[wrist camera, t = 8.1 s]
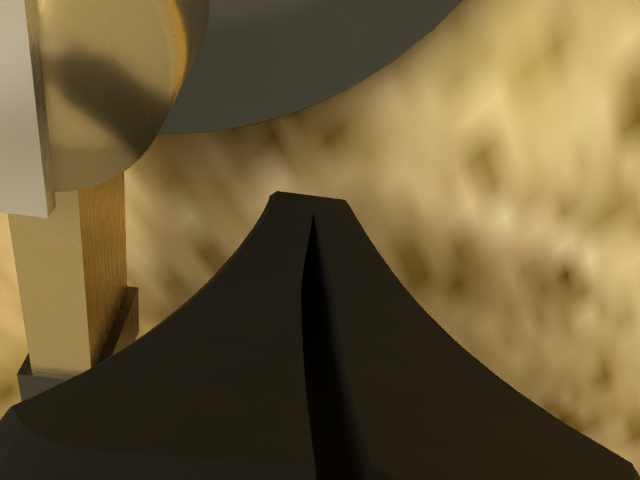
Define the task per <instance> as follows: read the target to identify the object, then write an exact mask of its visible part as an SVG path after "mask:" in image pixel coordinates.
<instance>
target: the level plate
mask: <svg viewBox="0 0 640 480" xmlns="http://www.w3.org/2000/svg"><path fill="white" fill-rule="evenodd" d="M461 1H462V0H209V19H208V27H207V31H206V35H205V39H204V42H203V44H202V47H201V49H200V52H199V54H198V56H197V58H196V60H195V62H194V64H193V66H192V68H191V70H190V72H189V74H188V75H187V77H186V79H185V81H184V83H183V85H182V87H181V89H180V91H179V93H178V95H177V97H176V99H175V101H174V103H173V105H172V107H171V109H170V111H169V113H168V115H167V117H166V118H165V120H164V122H163V124H162V126H161V128H160V130H159V132H158V134H181V133H204V132H211V131H217V130H223V129H229V128H235V127H241V126H247V125H253V124H257V123H260V122H263V121H266V120H270V119H273V118H276V117H280V116H283V115H286V114H290V113H293V112H296V111H300V110H302V109H304V108H307V107H309V106H311V105H313V104H316V103H318V102H320V101H322V100H324V99H327V98H329V97H331V96H333V95H336V94H338V93H340V92H342V91H345V90H347V89H348V88H350V87H352V86H353V85H355V84H357V83H358V82H360V81H362V80H363V79H365V78H366V77H368V76H370V75H371V74H373V73H375V72H376V71H378V70H380V69H381V68H383V67H385V66H386V65H388V64H389V63H391V62H392V61H394V60H395V59H396V58H397V57H399V56H400V55H401V54H402V53H404V52H405V51H406V50H408V49H409V48H410V47H411V46H413V45H414V44H415V43H416V42H418V41H419V40H420V39H421V38H423V37H424V36H425V35H427V34H428V33H429V32H430V31H432V30H433V29H434V28H435V27H436V26H437V25H438V24H439V23H440V22H441V21H442V20H443V19H444V18H445V17H446V16H447V15H448V14H449V13H450V12H451V11H452V10H453V9H454V8H455V7H456V6H457V5H458V4H459V3H460V2H461Z"/></svg>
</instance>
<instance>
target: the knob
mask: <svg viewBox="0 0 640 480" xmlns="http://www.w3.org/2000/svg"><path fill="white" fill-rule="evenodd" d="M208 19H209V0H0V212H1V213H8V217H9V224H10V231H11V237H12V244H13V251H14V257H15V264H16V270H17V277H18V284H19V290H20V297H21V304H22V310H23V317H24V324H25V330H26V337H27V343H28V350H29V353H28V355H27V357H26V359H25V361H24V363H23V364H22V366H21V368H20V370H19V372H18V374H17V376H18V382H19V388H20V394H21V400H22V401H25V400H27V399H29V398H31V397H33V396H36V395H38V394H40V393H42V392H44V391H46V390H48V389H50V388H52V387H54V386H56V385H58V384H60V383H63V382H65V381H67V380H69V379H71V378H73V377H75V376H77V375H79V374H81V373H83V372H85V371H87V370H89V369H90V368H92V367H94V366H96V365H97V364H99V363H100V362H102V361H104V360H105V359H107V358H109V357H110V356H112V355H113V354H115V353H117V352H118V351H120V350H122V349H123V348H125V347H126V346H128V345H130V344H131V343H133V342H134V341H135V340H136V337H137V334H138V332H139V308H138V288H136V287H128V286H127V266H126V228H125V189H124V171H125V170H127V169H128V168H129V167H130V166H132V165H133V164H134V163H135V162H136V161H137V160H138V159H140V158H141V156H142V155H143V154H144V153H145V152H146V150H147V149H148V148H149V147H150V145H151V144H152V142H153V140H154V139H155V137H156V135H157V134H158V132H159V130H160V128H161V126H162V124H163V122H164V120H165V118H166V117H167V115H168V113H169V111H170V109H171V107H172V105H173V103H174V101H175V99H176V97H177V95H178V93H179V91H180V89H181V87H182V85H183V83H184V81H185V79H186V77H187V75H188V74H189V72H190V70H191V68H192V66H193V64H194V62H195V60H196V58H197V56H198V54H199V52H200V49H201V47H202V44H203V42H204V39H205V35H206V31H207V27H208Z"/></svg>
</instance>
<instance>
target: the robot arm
mask: <svg viewBox="0 0 640 480" xmlns="http://www.w3.org/2000/svg"><path fill="white" fill-rule="evenodd" d="M0 480H640V476H639V475H638V473H637V471H636V470H635V468H634V466H633V464H632V463H631V462H629V461H627V460H625V459H624V458H622V457H620V456H619V455H617V454H615V453H614V452H612V451H610V450H609V449H607V448H605V447H604V446H602V445H600V444H598V443H597V442H595V441H593V440H592V439H590V438H588V437H587V436H585V435H583V434H582V433H580V432H578V431H577V430H575V429H573V428H572V427H570V426H568V425H566V424H565V423H563V422H562V421H560V420H559V419H557V418H555V417H554V416H552V415H551V414H550V413H548V412H547V411H545V410H544V409H542V408H541V407H539V406H538V405H536V404H535V403H534V402H532V401H531V400H529V399H528V398H526V397H525V396H523V395H522V394H520V393H519V392H518V391H516V390H515V389H514V388H512V387H511V386H510V385H508V384H507V383H506V382H504V381H503V380H502V379H500V378H499V377H498V376H496V375H495V374H494V373H493V372H492V371H490V370H489V369H488V368H487V367H486V366H484V365H483V364H482V363H481V362H479V361H478V360H477V359H476V358H475V357H473V356H472V355H471V354H470V353H469V352H467V351H466V350H465V349H464V348H463V347H462V346H461V345H460V344H458V343H457V342H456V341H455V340H454V339H453V338H452V337H451V336H450V335H449V334H448V333H447V332H446V331H445V330H444V329H443V328H442V327H441V326H440V325H439V324H438V323H437V322H436V321H435V320H434V319H433V318H432V317H431V316H430V315H429V314H428V313H427V312H426V311H425V310H424V309H423V308H422V307H421V306H420V305H419V304H418V303H417V302H416V300H415V299H414V298H413V297H412V296H411V294H410V293H409V292H408V291H407V290H406V288H405V287H404V286H403V285H402V284H401V282H400V281H399V280H398V279H397V277H396V276H395V275H394V273H393V272H392V271H391V269H390V268H389V266H388V265H387V264H386V262H385V261H384V259H383V258H382V257H381V255H380V254H379V252H378V251H377V249H376V248H375V246H374V245H373V243H372V242H371V240H370V239H369V237H368V236H367V234H366V232H365V231H364V229H363V228H362V226H361V224H360V223H359V221H358V219H357V218H356V216H355V214H354V213H353V211H352V209H351V207H350V206H349V205H348V203H347V202H346V200H341V199H334V198H326V197H318V196H311V195H303V194H295V193H288V192H280V191H276V192H275V193H273V194H272V195H270V197H269V201H268V203H267V205H266V208H265V210H264V211H263V213H262V215H261V217H260V218H259V220H258V221H257V223H256V225H255V226H254V228H253V229H252V230H251V232H250V233H249V234H248V236H247V237H246V238H245V240H244V241H243V243H242V244H241V245H240V247H239V248H238V249H237V250H236V252H235V253H234V254H233V255H232V256H231V257H230V258H229V260H228V261H227V262H226V263H225V264H224V265H223V266H222V267H221V269H220V270H219V271H218V272H217V273H216V274H215V275H214V276H213V277H212V278H211V279H210V280H209V281H208V282H207V283H206V284H205V285H204V286H203V287H202V288H201V289H200V290H199V291H198V292H197V293H196V294H195V295H194V296H193V297H191V298H190V299H189V300H188V301H187V302H186V303H185V304H184V305H182V306H181V307H180V308H179V309H177V310H176V311H175V312H174V313H172V314H171V315H170V316H169V317H167V318H166V319H165V320H163V321H162V322H161V323H160V324H158V325H157V326H156V327H154V328H153V329H152V330H150V331H149V332H147V333H146V334H145V335H143V336H142V337H140V338H139V339H137V340H136V341H134V342H133V343H131V344H130V345H128V346H126V347H125V348H123V349H122V350H120V351H118V352H117V353H115V354H113V355H112V356H110V357H109V358H107V359H105V360H104V361H102V362H100V363H99V364H97V365H96V366H94V367H92V368H90V369H89V370H87V371H85V372H83V373H81V374H79V375H77V376H75V377H73V378H71V379H69V380H67V381H65V382H63V383H60V384H58V385H56V386H54V387H52V388H50V389H48V390H46V391H44V392H42V393H40V394H38V395H36V396H33V397H31V398H29V399H27V400H25V401H22V402H20V403H18V404H16V405H13V406H12V407H10V408H9V409H8V411H7V412H6V413H5V415H4V416H3V417H2V419H1V420H0Z"/></svg>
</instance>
